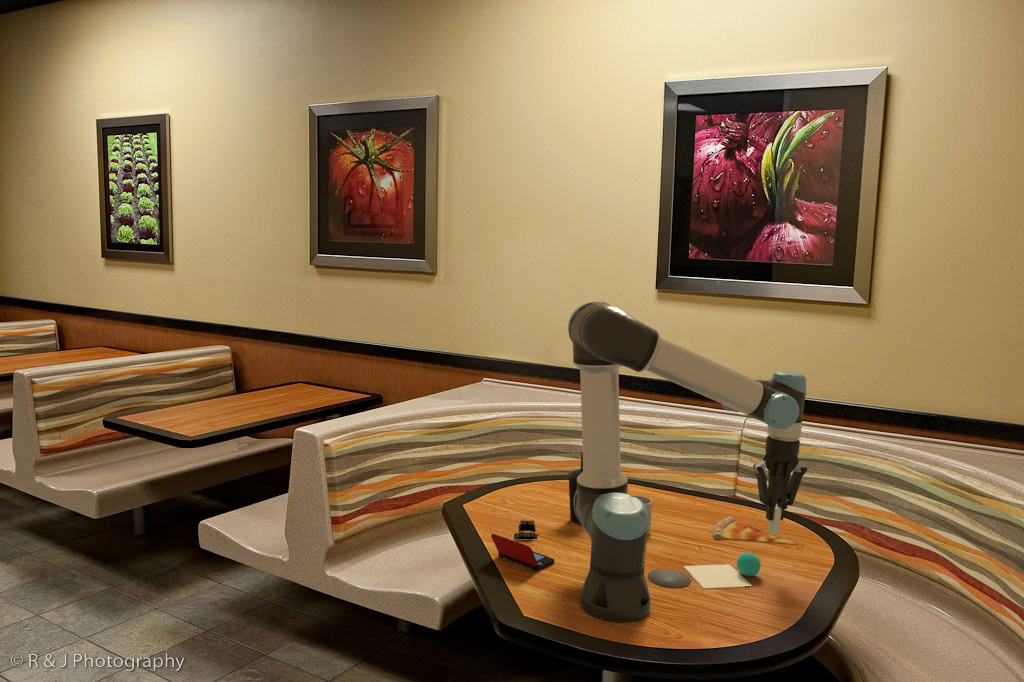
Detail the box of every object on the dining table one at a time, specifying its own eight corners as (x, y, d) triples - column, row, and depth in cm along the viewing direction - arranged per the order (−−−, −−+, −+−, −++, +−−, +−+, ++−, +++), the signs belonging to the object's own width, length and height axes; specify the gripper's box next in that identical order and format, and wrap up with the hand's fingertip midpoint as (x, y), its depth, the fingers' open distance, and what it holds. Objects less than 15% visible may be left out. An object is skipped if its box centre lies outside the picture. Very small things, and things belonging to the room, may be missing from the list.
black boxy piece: (503, 543, 202) (503, 526, 201) (503, 532, 209) (503, 516, 209) (550, 544, 202) (551, 528, 202) (549, 534, 209) (549, 517, 209)
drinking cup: (570, 527, 213) (574, 456, 211) (561, 517, 221) (565, 448, 218) (596, 525, 216) (600, 455, 213) (586, 515, 223) (590, 447, 220)
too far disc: (656, 588, 177) (656, 588, 177) (641, 570, 187) (641, 569, 187) (697, 587, 179) (697, 586, 179) (681, 568, 189) (681, 567, 189)
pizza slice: (764, 560, 197) (765, 553, 197) (693, 532, 214) (694, 525, 214) (798, 546, 207) (798, 539, 207) (727, 521, 224) (728, 514, 224)
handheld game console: (556, 563, 190) (557, 534, 189) (528, 577, 181) (530, 547, 180) (516, 549, 198) (518, 521, 197) (488, 561, 189) (489, 532, 188)
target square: (703, 588, 178) (703, 588, 178) (683, 566, 190) (683, 566, 190) (752, 586, 180) (752, 585, 180) (729, 565, 192) (729, 564, 192)
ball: (768, 572, 184) (748, 584, 184) (757, 563, 190) (738, 574, 189) (759, 553, 183) (739, 565, 183) (748, 544, 189) (729, 556, 188)
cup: (645, 526, 216) (647, 495, 215) (657, 540, 206) (659, 507, 205) (620, 526, 215) (622, 495, 214) (630, 540, 205) (632, 508, 204)
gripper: (800, 433, 188) (789, 527, 191) (750, 432, 186) (740, 527, 189) (817, 441, 181) (806, 538, 184) (765, 440, 178) (755, 539, 181)
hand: (773, 532), depth 186 cm, fingers closed
